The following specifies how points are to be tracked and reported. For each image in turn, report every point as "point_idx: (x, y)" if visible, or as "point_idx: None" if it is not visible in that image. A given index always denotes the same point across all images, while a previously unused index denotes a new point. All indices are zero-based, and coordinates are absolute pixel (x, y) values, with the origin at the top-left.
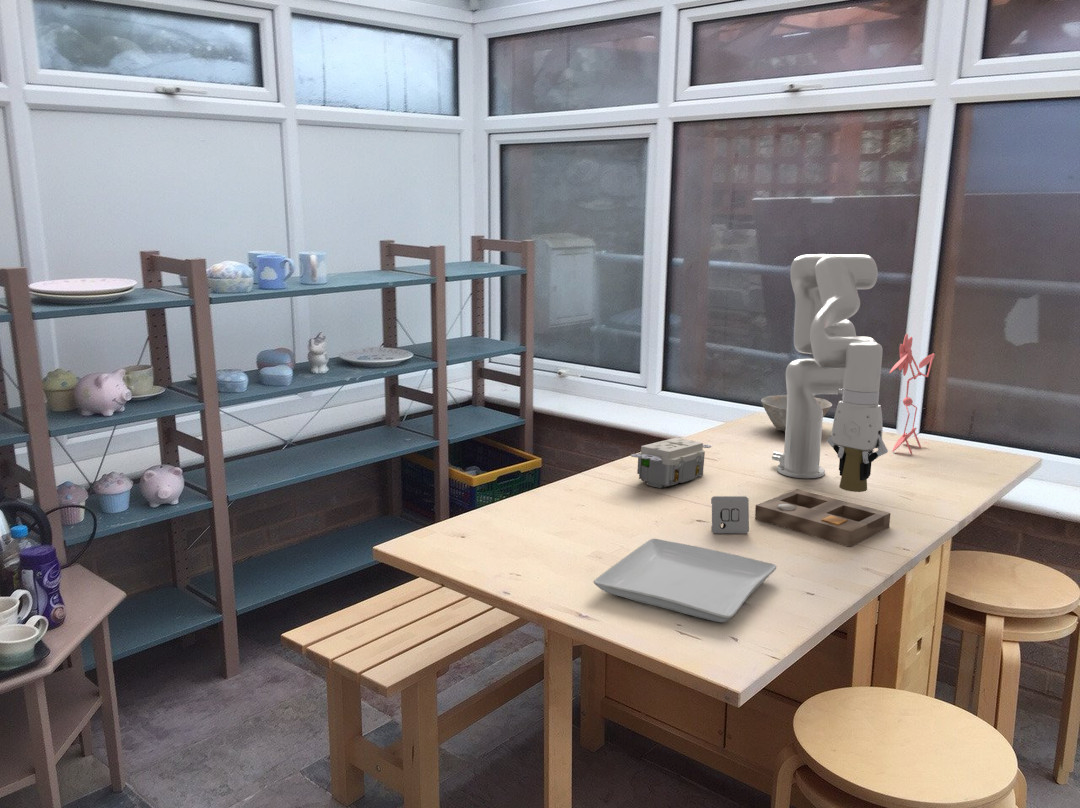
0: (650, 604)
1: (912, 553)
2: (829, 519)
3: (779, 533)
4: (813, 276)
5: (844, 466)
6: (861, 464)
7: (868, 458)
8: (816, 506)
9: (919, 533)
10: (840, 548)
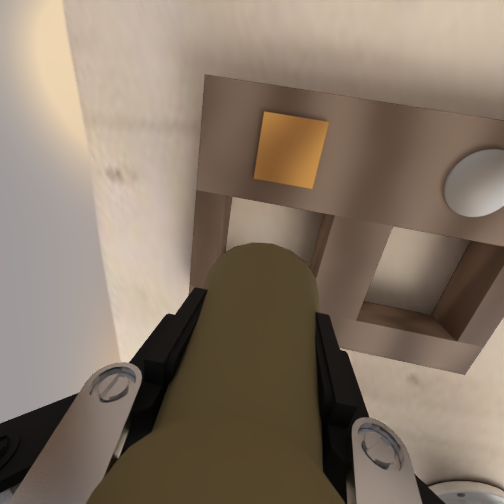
0: None
1: (92, 156)
2: (303, 141)
3: (447, 56)
4: None
5: (307, 347)
6: (163, 353)
7: (71, 412)
8: (377, 259)
9: (140, 292)
10: (237, 56)
